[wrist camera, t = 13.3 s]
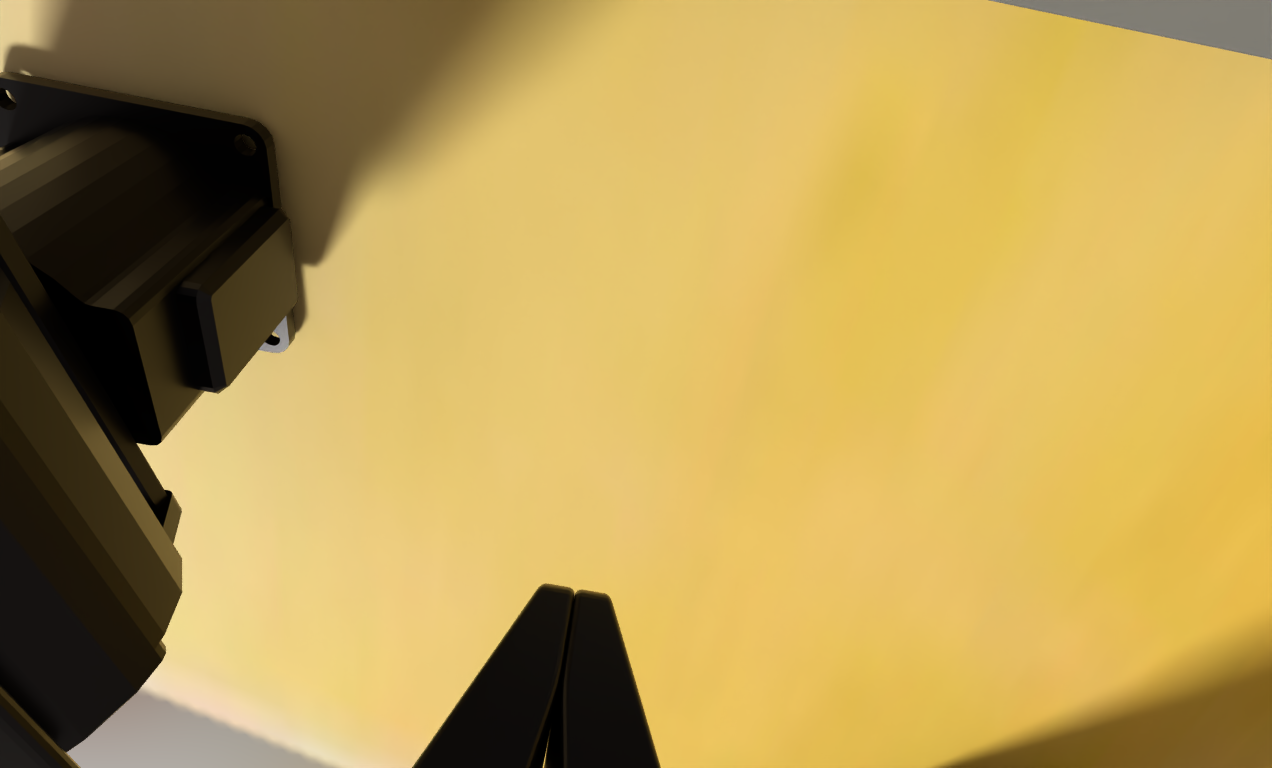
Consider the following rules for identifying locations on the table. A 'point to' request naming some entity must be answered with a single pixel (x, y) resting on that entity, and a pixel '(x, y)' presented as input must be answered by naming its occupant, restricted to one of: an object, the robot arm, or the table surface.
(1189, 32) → the switch panel
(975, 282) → the table surface
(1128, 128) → the table surface
